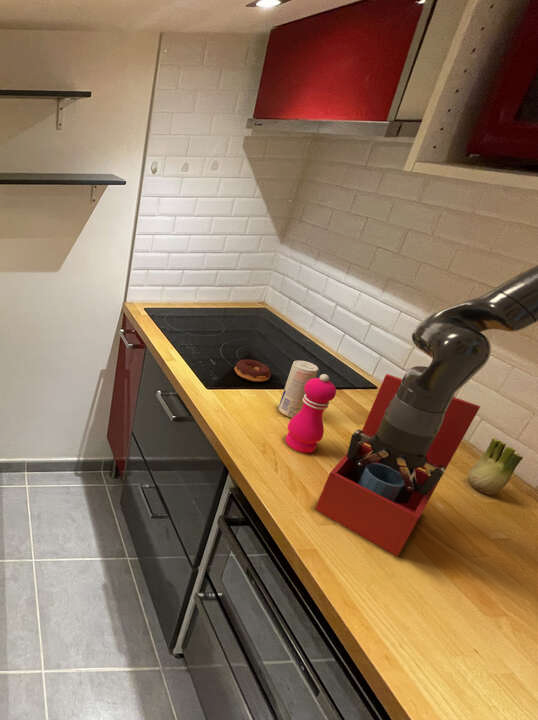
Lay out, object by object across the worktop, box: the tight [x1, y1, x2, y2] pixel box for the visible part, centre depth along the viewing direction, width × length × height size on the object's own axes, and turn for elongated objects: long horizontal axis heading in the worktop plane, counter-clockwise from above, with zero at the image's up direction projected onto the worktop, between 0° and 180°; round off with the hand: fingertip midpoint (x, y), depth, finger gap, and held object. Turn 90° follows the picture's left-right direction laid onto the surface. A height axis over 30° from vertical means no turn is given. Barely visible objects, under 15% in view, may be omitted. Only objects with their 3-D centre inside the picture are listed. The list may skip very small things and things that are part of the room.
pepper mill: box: [285, 373, 337, 454], centre depth 105 cm, size 7×7×20 cm
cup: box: [358, 463, 405, 503], centre depth 88 cm, size 6×6×8 cm
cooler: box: [314, 443, 441, 557], centre depth 88 cm, size 16×14×10 cm
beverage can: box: [277, 360, 319, 419], centre depth 118 cm, size 6×6×15 cm
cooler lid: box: [361, 373, 481, 471], centre depth 88 cm, size 16×14×5 cm
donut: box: [234, 359, 272, 383], centre depth 138 cm, size 10×10×4 cm
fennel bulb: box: [467, 437, 524, 496], centre depth 94 cm, size 6×5×12 cm
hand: (377, 490), depth 88 cm, fingers closed on cup, 6 cm apart
